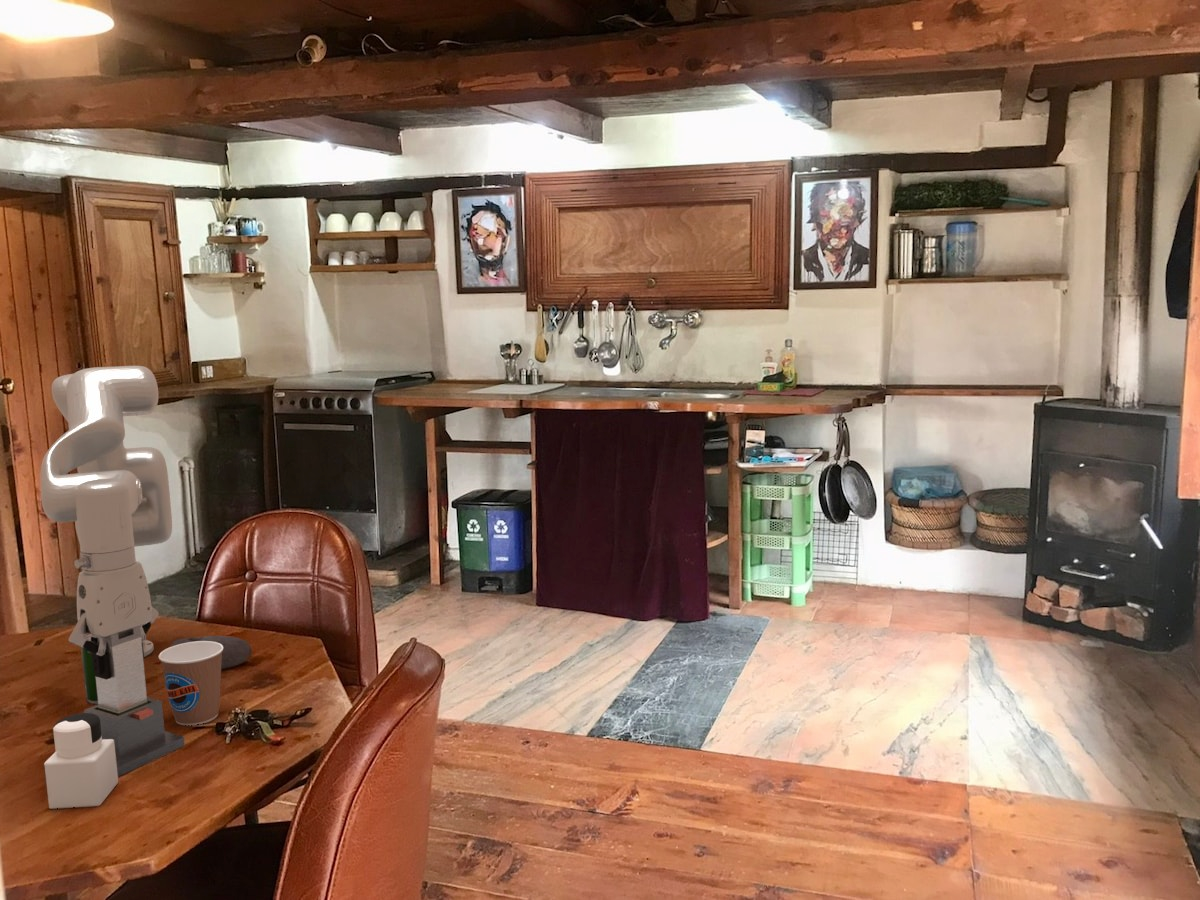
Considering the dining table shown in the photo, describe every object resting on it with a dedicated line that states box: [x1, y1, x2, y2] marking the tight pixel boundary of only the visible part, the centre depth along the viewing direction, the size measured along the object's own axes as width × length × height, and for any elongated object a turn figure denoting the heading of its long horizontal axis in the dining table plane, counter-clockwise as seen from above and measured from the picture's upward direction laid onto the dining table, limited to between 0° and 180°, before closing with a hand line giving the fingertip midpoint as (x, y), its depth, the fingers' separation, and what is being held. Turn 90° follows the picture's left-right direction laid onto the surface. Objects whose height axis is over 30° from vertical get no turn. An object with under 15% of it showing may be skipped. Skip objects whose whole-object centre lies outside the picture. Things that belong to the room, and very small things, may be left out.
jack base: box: [83, 696, 186, 778], centre depth 160 cm, size 12×12×8 cm
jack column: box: [96, 626, 148, 716], centre depth 159 cm, size 5×5×15 cm
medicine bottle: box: [43, 712, 119, 810], centre depth 146 cm, size 7×7×12 cm
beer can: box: [80, 634, 98, 705], centre depth 182 cm, size 5×5×12 cm
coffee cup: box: [158, 641, 223, 727], centre depth 173 cm, size 10×10×12 cm
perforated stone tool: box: [170, 635, 252, 670], centre depth 196 cm, size 15×5×7 cm, turn 112°
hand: (119, 670), depth 159 cm, fingers closed on jack column, 5 cm apart
